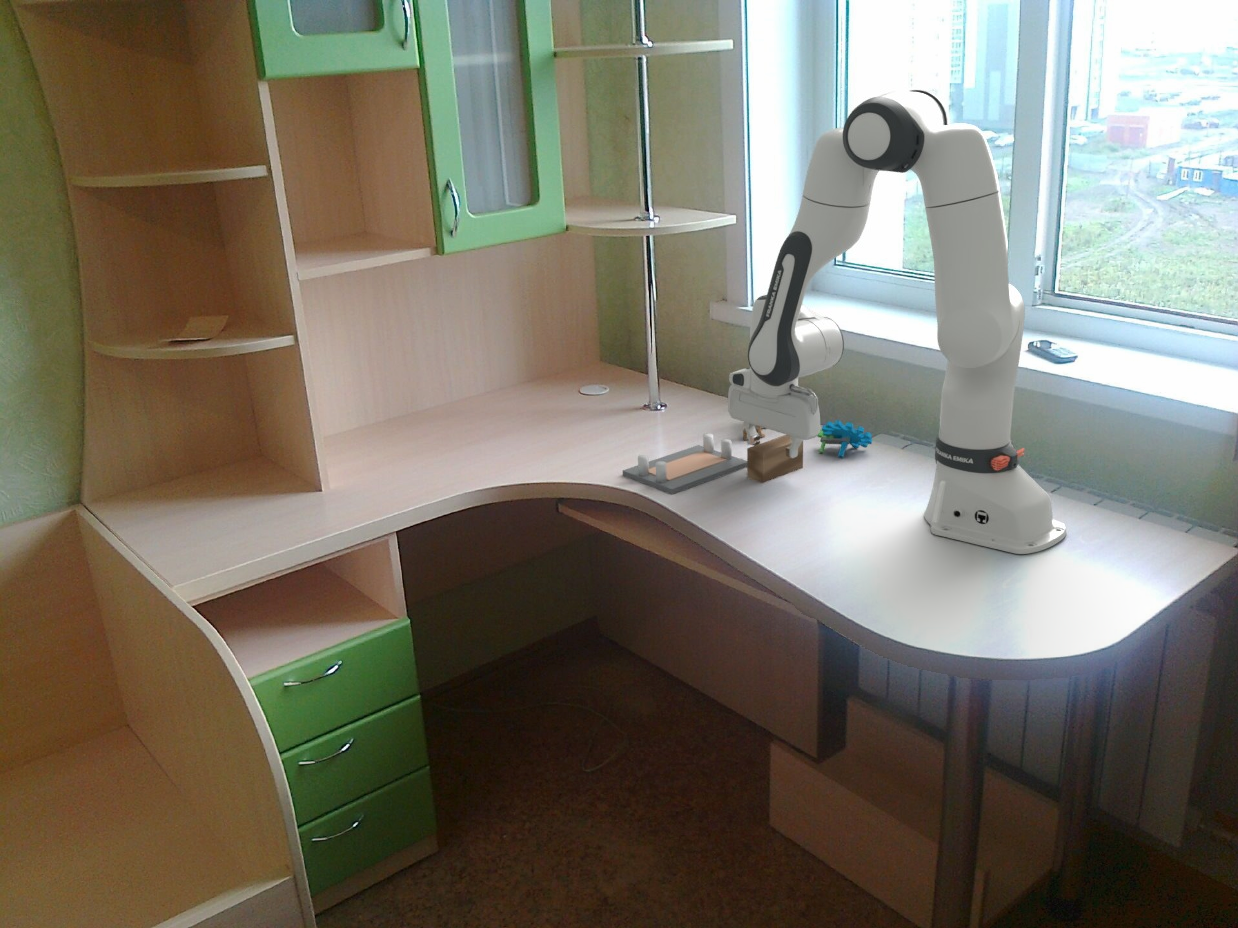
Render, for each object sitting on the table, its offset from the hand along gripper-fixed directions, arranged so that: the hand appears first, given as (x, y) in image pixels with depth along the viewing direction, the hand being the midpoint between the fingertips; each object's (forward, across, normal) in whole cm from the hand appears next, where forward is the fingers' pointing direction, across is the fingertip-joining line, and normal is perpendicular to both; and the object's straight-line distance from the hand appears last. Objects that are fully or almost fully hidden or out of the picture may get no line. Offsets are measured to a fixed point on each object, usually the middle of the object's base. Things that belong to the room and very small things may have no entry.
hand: (772, 450), depth 205 cm
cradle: (+5, +13, +10) cm, 17 cm away
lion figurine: (+5, +19, -16) cm, 25 cm away
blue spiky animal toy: (+5, -3, -18) cm, 19 cm away
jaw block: (+5, 0, 0) cm, 5 cm away
